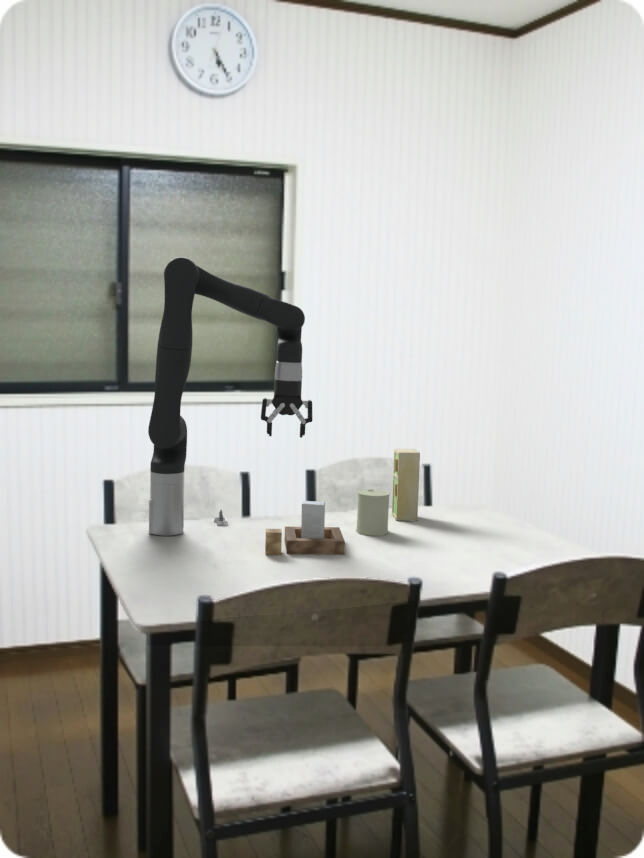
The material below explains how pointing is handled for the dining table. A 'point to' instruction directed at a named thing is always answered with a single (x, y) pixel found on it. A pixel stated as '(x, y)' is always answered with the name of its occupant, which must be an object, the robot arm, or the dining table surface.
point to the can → (372, 512)
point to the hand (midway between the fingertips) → (285, 436)
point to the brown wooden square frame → (314, 542)
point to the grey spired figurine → (221, 519)
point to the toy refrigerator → (405, 484)
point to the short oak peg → (273, 542)
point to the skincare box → (313, 519)
